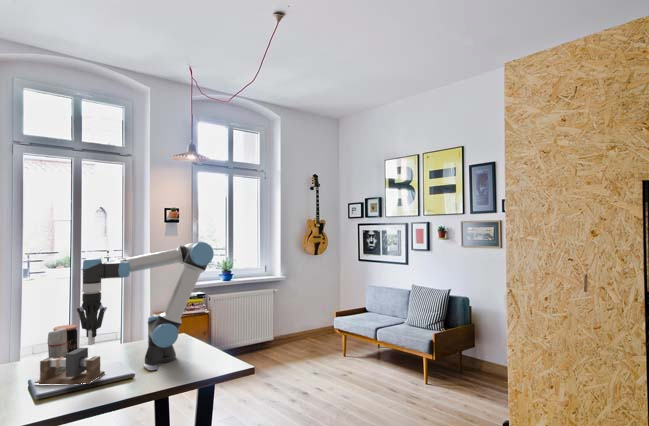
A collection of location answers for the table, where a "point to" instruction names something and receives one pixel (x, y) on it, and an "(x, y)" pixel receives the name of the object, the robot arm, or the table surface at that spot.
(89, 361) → the pipe stand
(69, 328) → the coffee jar
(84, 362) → the light grey long bar
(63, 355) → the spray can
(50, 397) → the table surface
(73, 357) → the tall grey notched block
